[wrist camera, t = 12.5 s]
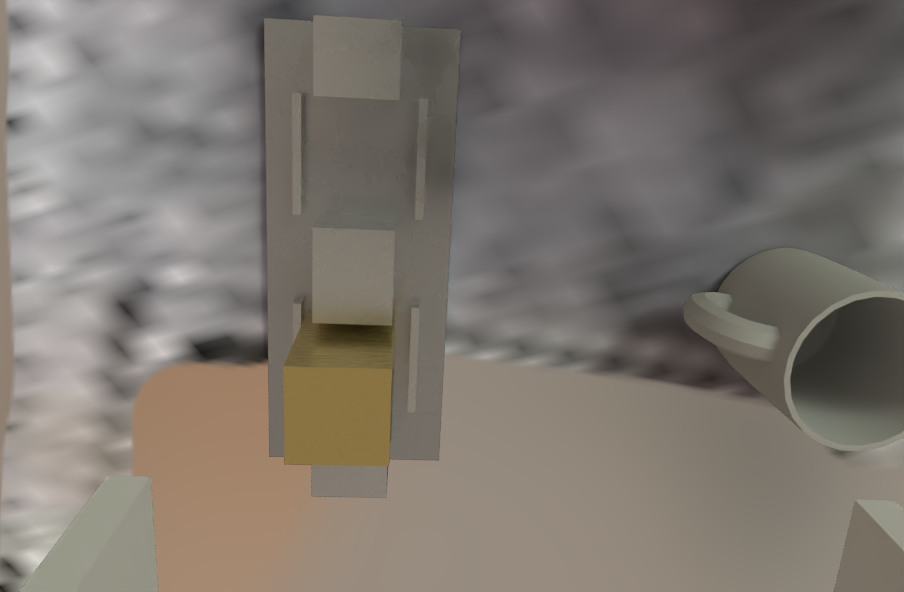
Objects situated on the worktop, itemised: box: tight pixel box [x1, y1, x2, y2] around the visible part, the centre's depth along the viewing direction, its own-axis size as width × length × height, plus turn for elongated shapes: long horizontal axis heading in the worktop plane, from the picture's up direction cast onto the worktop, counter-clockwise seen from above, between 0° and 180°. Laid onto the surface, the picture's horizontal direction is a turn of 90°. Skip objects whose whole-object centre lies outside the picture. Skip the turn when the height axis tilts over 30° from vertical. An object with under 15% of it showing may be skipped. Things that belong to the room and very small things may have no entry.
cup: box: [683, 248, 904, 451], centre depth 37 cm, size 7×10×9 cm
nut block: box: [283, 310, 396, 466], centre depth 36 cm, size 4×4×8 cm
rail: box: [264, 15, 461, 498], centre depth 37 cm, size 22×9×5 cm, turn 177°
